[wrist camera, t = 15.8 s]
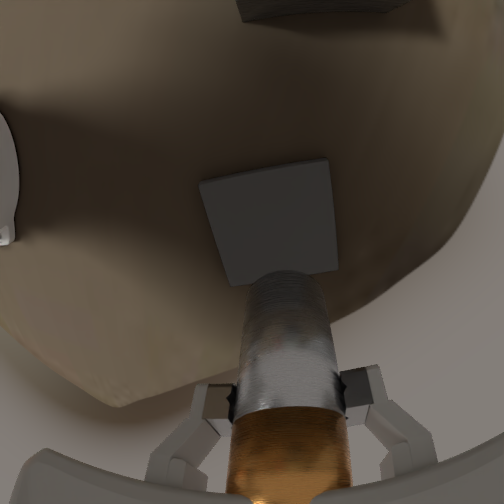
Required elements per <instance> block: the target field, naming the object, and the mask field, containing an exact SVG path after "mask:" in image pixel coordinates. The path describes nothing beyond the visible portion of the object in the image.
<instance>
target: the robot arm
mask: <svg viewBox="0 0 504 504" xmlns="http://www.w3.org/2000/svg"><path fill="white" fill-rule="evenodd" d="M18 194H19V169H18V161H17V155H16V150H15V145H14V142H13V138H12V135H11V132H10V130H9V127H8V125H7V123H6V121H5V119H4V117H3V116H2V114H1V113H0V245H9V244H10V243H11V242H13V241H14V240H15V227H14V213H15V209H16V206H17V201H18ZM339 379H340V385H341V391H342V397H343V405H344V412H345V418H346V426H347V427H348V426H354V425H360V424H365V426H366V427H367V428H368V429H369V430H370V431H371V432H372V433H373V434H374V435H375V436H376V438H377V439H378V440H379V441H380V442H381V443H382V444H383V445H384V446H385V447H386V449H388V451H389V452H388V454H387V455H386V457H385V458H384V459H383V461H382V462H381V464H380V471H381V479H382V480H381V481H377V482H373V483H368V484H363V485H358V486H353V487H347V488H341V489H334V490H329V491H325V492H323V493H321V494H319V495H317V496H315V497H314V498H313V499H312V500H311V502H310V503H309V504H504V432H503V433H501V434H499V435H498V436H496V437H494V438H492V439H490V440H488V441H486V442H484V443H483V444H480V445H478V446H476V447H474V448H472V449H470V450H468V451H466V452H464V453H461V454H459V455H457V456H454V457H452V458H449V459H447V460H444V461H442V462H439V463H438V461H437V456H436V452H435V447H434V443H433V439H432V435H431V433H430V432H429V431H428V430H427V429H426V428H424V427H423V426H422V425H421V424H420V423H418V422H417V421H416V420H415V419H414V418H413V417H412V416H410V415H409V414H408V413H407V412H406V411H404V410H403V409H402V408H401V407H400V406H398V405H397V404H396V403H395V402H394V401H393V400H388V397H387V393H386V390H385V386H384V382H383V378H382V375H381V371H380V367H379V366H378V365H377V364H376V365H371V366H367V367H361V368H356V369H351V370H346V371H341V372H339ZM236 388H237V386H236V385H235V383H226V384H224V383H223V384H197V386H196V387H195V391H194V396H193V401H192V406H191V410H190V415H189V419H187V418H186V419H185V420H184V421H183V422H182V423H181V424H180V425H179V426H178V427H177V428H176V429H175V430H174V431H173V432H172V433H171V434H170V435H169V436H168V437H167V438H166V439H165V440H164V441H163V442H162V443H161V444H160V445H159V446H158V447H157V448H156V449H155V450H154V451H153V452H152V453H151V454H150V459H149V463H148V467H147V472H146V475H145V480H144V481H141V480H137V479H133V478H130V477H126V476H122V475H119V474H115V473H112V472H109V471H106V470H102V469H99V468H97V467H94V466H91V465H88V464H85V463H83V462H80V461H78V460H75V459H72V458H70V457H68V456H65V455H63V454H61V453H58V452H56V451H54V450H51V449H49V448H44V449H42V450H40V451H39V452H37V453H36V454H34V455H33V456H32V457H30V458H29V459H28V460H27V461H26V462H25V463H24V465H23V466H22V468H21V471H20V473H19V475H18V478H17V481H16V483H15V486H14V489H13V492H12V495H11V499H10V501H9V504H253V503H252V501H251V500H250V499H249V498H247V497H245V496H243V495H239V494H228V493H215V492H206V488H207V479H208V477H207V475H206V474H205V473H203V472H201V471H200V470H198V469H197V467H198V466H199V465H200V464H201V463H202V461H203V460H204V459H205V457H206V456H207V455H208V454H209V452H210V451H211V450H212V448H213V447H214V446H215V444H216V443H217V442H218V440H219V439H220V436H231V434H232V425H233V416H234V406H235V397H236Z"/></svg>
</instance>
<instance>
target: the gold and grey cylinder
mask: <svg viewBox="0 0 504 504" xmlns="http://www.w3.org/2000/svg"><path fill="white" fill-rule="evenodd" d="M347 487H353V481H352V470H351V460H350V451H349V442H348V434H347V426H346V418H345V412H344V405H343V397H342V391H341V385H340V379H339V372H338V366H337V360H336V354H335V349H334V343H333V338H332V333H331V328H330V322H329V317H328V312H327V308H326V303H325V298H324V293H323V290H322V288H321V286H320V284H319V283H318V282H317V281H316V280H315V279H314V278H312V277H311V276H309V275H307V274H305V273H303V272H299V271H295V270H279V271H274V272H271V273H268V274H266V275H263V276H262V277H260V278H259V279H257V280H256V281H255V282H254V283H253V284H252V285H251V287H250V288H249V290H248V292H247V296H246V304H245V313H244V323H243V332H242V341H241V351H240V360H239V369H238V378H237V388H236V397H235V406H234V416H233V425H232V434H231V444H230V453H229V463H228V472H227V481H226V491H225V493H228V494H239V495H243V496H245V497H247V498H249V499H250V500H251V501H252V503H253V504H309V503H310V502H311V500H312V499H313V498H314V497H315V496H317V495H319V494H321V493H323V492H325V491H329V490H334V489H341V488H347Z"/></svg>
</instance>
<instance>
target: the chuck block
mask: <svg viewBox="0 0 504 504" xmlns="http://www.w3.org/2000/svg"><path fill="white" fill-rule="evenodd" d="M235 1H236V4H237V6H238V9H239V12H240V15H241V18H242V21H243V22H247V21H252V20H257V19H263V18H270V17H276V16H284V15H292V14H302V13H315V12H339V11H358V12H382V13H387V12H389V11H391V10H393V9H395V8H397V7H399V6H401V5H403V4H405V3H407V2H409V1H411V0H235Z"/></svg>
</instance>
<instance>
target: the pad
mask: <svg viewBox="0 0 504 504" xmlns="http://www.w3.org/2000/svg"><path fill="white" fill-rule="evenodd" d="M198 187H199V191H200V194H201V197H202V200H203V204H204V207H205V210H206V213H207V216H208V220H209V223H210V226H211V229H212V232H213V235H214V238H215V242H216V245H217V248H218V251H219V254H220V257H221V260H222V263H223V266H224V269H225V272H226V275H227V278H228V281H229V284H230V287H233V286H240V285H247V284H253V283H254V282H255V281H256V280H257V279H259V278H260V277H262V276H263V275H266V274H268V273H271V272H274V271H279V270H295V271H299V272H303V273H305V274H307V275H311V274H317V273H323V272H329V271H335V270H339V267H338V251H337V237H336V225H335V214H334V204H333V195H332V186H331V177H330V170H329V162H328V160H327V158H320V159H313V160H307V161H301V162H295V163H289V164H283V165H277V166H272V167H266V168H261V169H256V170H251V171H246V172H241V173H236V174H231V175H226V176H222V177H217V178H213V179H209V180H204V181H200V183H199V184H198Z"/></svg>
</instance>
